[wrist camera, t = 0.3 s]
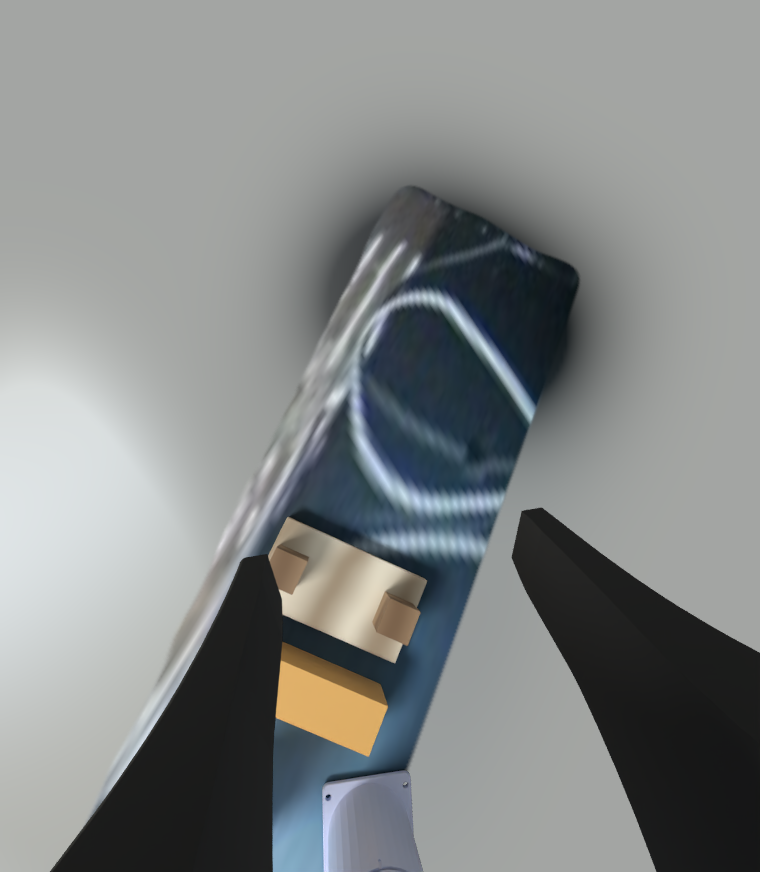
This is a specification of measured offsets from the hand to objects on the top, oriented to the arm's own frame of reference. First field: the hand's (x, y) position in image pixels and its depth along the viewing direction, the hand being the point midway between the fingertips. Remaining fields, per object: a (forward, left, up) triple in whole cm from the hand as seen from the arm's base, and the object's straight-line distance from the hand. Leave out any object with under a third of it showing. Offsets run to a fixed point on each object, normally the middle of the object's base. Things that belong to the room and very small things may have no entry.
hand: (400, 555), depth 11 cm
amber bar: (-14, +5, -29) cm, 33 cm away
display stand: (-6, +1, -29) cm, 30 cm away
